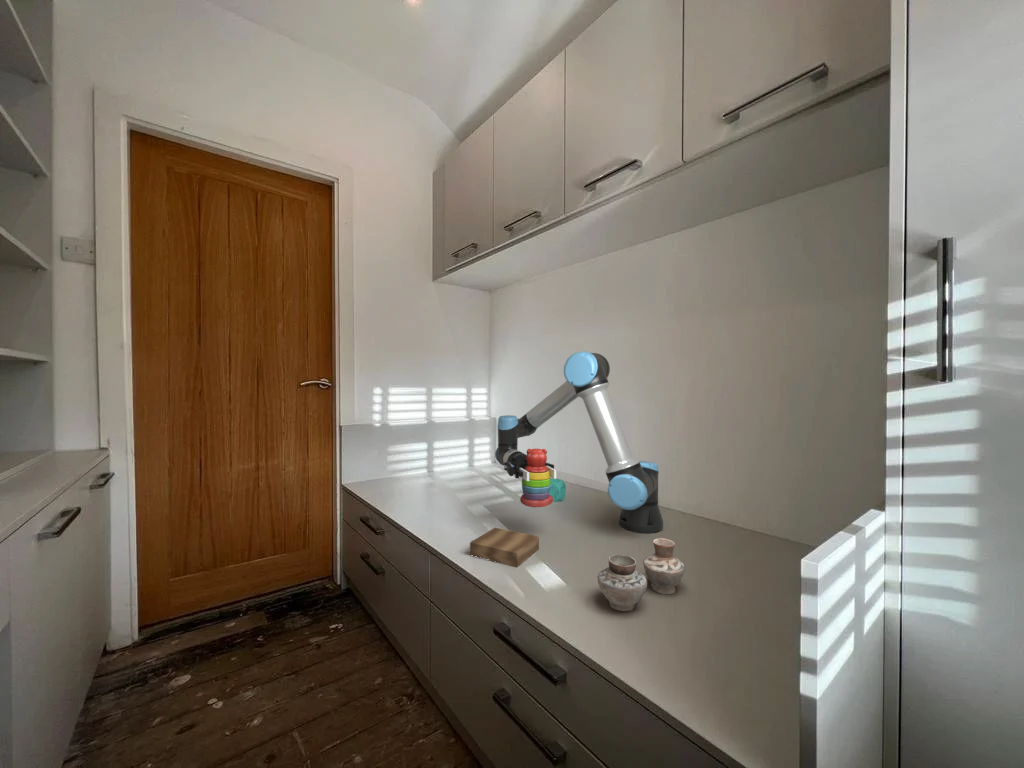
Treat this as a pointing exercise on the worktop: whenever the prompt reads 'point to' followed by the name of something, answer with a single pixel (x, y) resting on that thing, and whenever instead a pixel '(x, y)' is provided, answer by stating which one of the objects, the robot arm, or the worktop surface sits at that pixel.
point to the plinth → (505, 546)
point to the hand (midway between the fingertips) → (541, 475)
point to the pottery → (640, 576)
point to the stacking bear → (536, 480)
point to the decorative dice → (557, 489)
